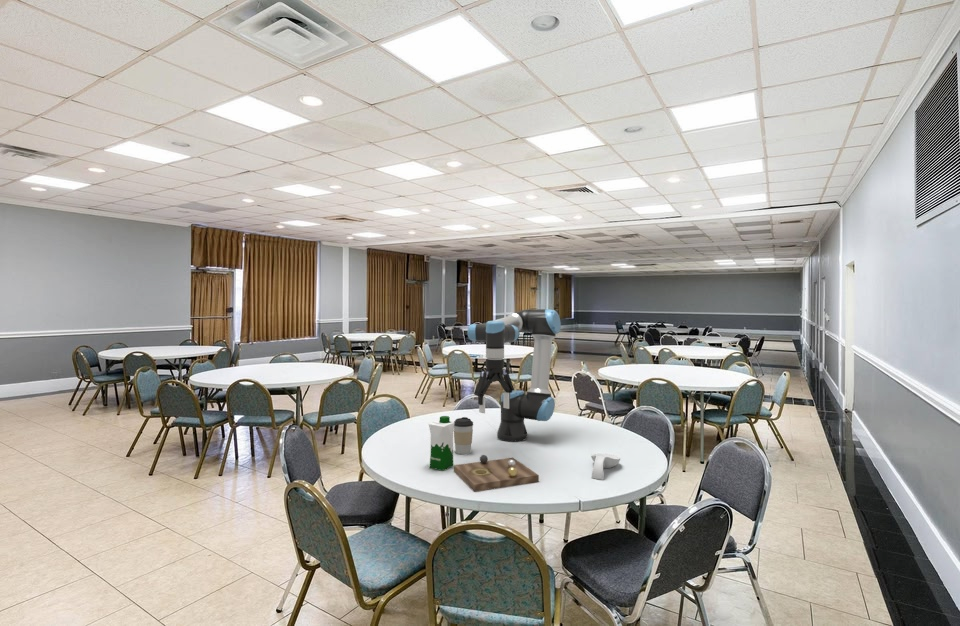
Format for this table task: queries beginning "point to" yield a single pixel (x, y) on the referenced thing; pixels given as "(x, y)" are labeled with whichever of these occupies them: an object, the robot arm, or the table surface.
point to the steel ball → (511, 463)
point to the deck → (494, 474)
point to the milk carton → (441, 443)
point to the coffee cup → (463, 435)
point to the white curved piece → (603, 464)
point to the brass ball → (512, 471)
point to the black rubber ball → (483, 459)
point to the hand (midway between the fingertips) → (494, 410)
